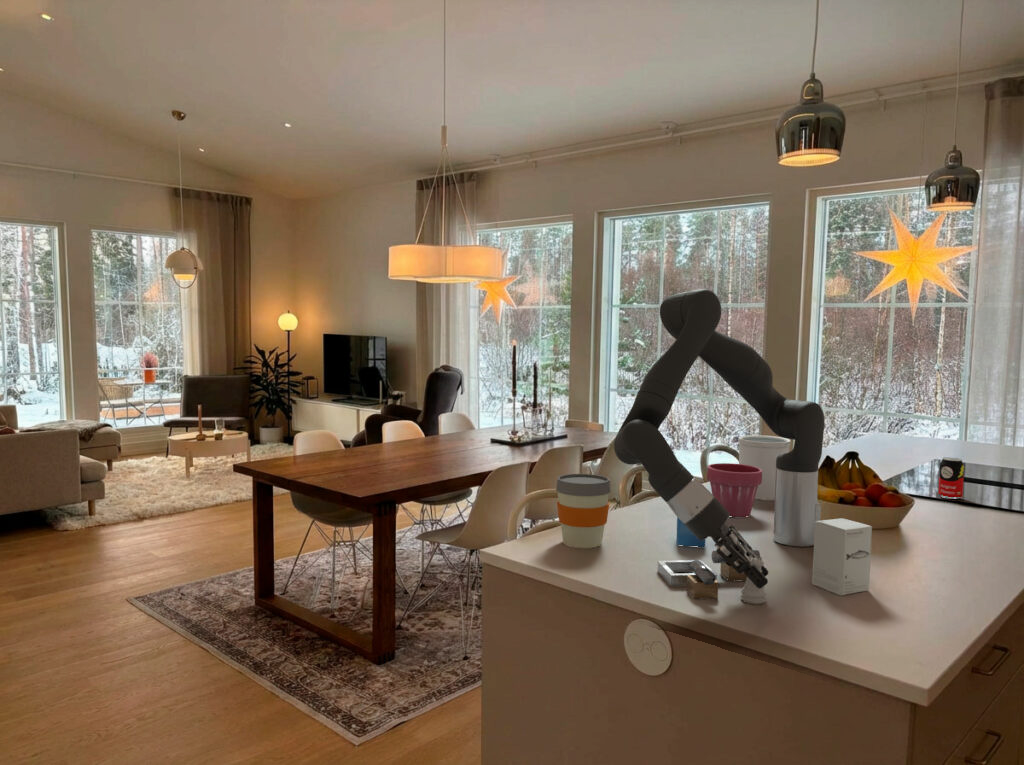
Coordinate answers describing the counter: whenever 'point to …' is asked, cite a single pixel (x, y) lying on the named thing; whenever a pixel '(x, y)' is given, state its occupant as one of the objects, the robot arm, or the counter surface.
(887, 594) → the counter surface
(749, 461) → the utensil holder
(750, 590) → the rook chess piece
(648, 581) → the counter surface
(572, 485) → the reusable coffee cup
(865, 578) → the supplement box
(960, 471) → the beverage can
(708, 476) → the plant pot
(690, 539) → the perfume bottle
